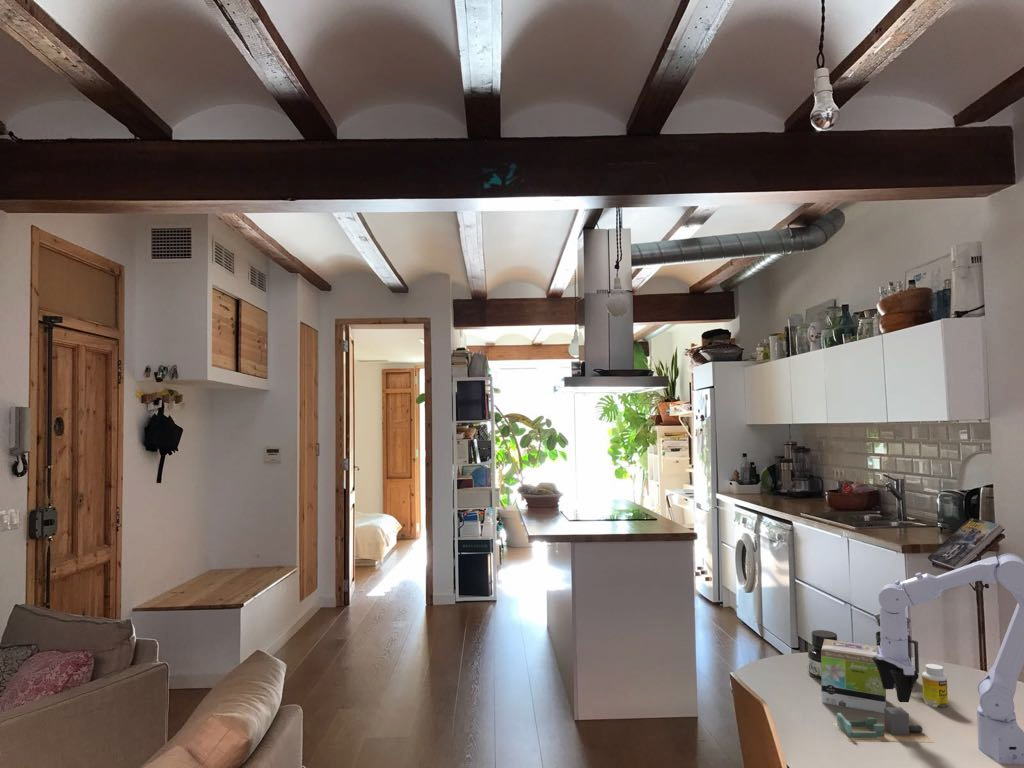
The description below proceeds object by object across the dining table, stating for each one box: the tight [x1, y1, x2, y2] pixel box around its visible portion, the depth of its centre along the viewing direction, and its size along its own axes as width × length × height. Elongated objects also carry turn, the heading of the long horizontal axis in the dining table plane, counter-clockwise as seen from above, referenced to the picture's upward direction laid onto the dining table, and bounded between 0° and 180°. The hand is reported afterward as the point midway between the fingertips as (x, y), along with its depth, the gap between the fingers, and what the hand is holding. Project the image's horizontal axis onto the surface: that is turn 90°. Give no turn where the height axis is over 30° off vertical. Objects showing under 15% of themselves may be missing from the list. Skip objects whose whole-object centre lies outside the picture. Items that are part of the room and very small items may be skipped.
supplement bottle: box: [921, 663, 949, 709], centre depth 186 cm, size 6×6×10 cm
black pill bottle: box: [807, 629, 838, 680], centre depth 208 cm, size 10×9×12 cm
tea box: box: [820, 639, 887, 714], centre depth 188 cm, size 15×10×15 cm, turn 62°
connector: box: [883, 706, 924, 736], centre depth 170 cm, size 4×8×5 cm, turn 87°
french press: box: [874, 613, 920, 685], centre depth 205 cm, size 12×9×23 cm
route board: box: [832, 712, 935, 743], centre depth 170 cm, size 10×19×4 cm, turn 87°
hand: (895, 695), depth 170 cm, fingers open, 7 cm apart
